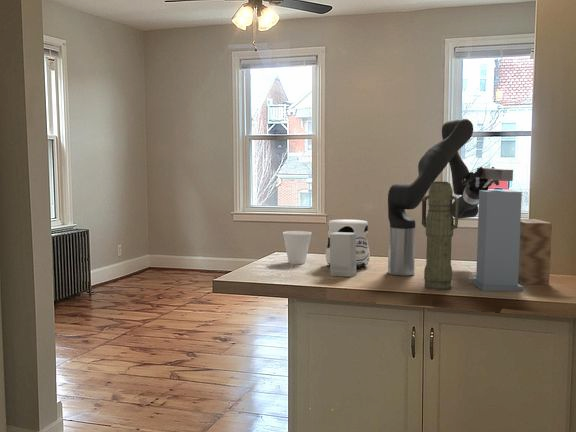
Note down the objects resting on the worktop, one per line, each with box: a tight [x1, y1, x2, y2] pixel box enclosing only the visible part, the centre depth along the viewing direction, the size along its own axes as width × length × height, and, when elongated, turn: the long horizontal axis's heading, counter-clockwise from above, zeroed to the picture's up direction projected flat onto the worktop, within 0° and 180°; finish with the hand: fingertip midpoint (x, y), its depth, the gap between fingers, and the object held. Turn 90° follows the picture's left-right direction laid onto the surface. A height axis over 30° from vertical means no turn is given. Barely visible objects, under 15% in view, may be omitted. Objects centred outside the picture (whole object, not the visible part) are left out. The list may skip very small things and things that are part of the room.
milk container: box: [325, 218, 371, 269], centre depth 239 cm, size 17×17×18 cm
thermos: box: [421, 181, 459, 291], centre depth 200 cm, size 9×12×35 cm
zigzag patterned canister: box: [518, 218, 553, 285], centre depth 213 cm, size 9×14×21 cm, turn 179°
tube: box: [476, 167, 514, 182], centre depth 206 cm, size 28×4×4 cm, turn 178°
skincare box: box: [329, 232, 357, 278], centre depth 221 cm, size 8×7×16 cm
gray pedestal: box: [471, 189, 524, 292], centre depth 201 cm, size 13×13×32 cm
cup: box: [282, 230, 313, 265], centre depth 247 cm, size 12×12×12 cm
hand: (487, 169), depth 213 cm, fingers closed on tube, 3 cm apart
